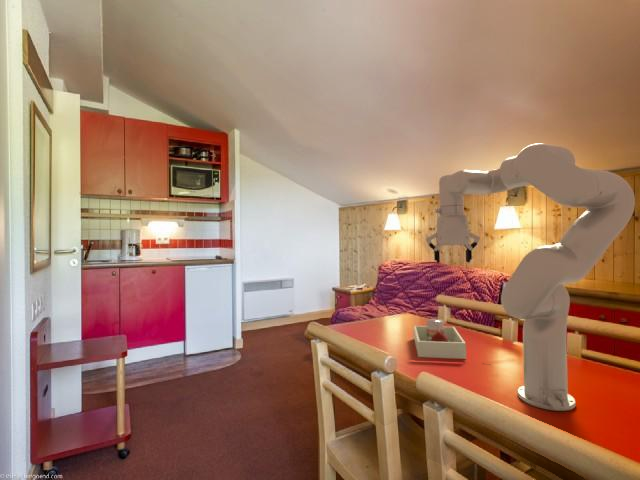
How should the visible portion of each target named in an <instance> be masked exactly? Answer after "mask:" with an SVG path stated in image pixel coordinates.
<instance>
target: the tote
mask: <svg viewBox="0 0 640 480" xmlns="http://www.w3.org/2000/svg"><path fill="white" fill-rule="evenodd" d="M444 335H445V337H446V338H447V340H448V342H434V341H427V325H413V340H414V344H415V349H416V353H417V357H418V358H432V359H433V358H435V359H436V358H437V359H438V358H439V359H455V360H457V359H461V360H467V345H466V344H467V343H466V342H465V340H464V339H463V337H462V336H461V335H460V332H458V330H457V329H456V327H455V326H444Z"/></svg>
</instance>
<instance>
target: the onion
mask: <svg viewBox="0 0 640 480" xmlns="http://www.w3.org/2000/svg"><path fill="white" fill-rule="evenodd" d="M431 341H434V342H448V340H447V338H446V337H445V335H443V334H442V333H441V331H440V330H439V331H438V332H437V333H436V334H435V335H434V336H433V337H432V339H431Z"/></svg>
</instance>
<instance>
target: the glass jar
mask: <svg viewBox="0 0 640 480" xmlns="http://www.w3.org/2000/svg"><path fill="white" fill-rule="evenodd" d="M444 322H445V321H444V320H443V319H440V318H427V319H426V326H427V341H431V339H432V337H433V336H434V335H435V334H436V333H437V332H438V331H439V330H440V331H441V333H442V334H443V335H444V327H445V325H444Z"/></svg>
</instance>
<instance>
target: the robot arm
mask: <svg viewBox="0 0 640 480" xmlns="http://www.w3.org/2000/svg"><path fill="white" fill-rule="evenodd" d="M438 185H439V186H438V187H439V188H438V189H439V191H438V193H439V208H436V209H435V211H434V212H435V214H439V216H438V217H437V220H436V232H435V233H433V234H431V235H430V236H428V237H426V238H425V241H426V243H427V244H428V246H429V248H431V250H433V252H434V254H433V255H434V256H433V257H434V261H436V263H437V264H439V263H440V262H441V261H440V260H441V257H440V255H441V254H440V251H439V250H440V248H441V247H442V246H464V247H465V248H466V250H465V262H466V263H471V261H472V258H473V257H472V254H473V253H472V251H473V250H474V248H475V247H476V246H477V245H478V244H479V241H480V240H481V237H480V236H478V235H476V234H474V233H472V232H470V231H469V230H470V229H469V228H470V227H469V222H468V217H467V214H465V215H464V213H465V211H464V195H479V196H484V195H491V194H492V195H493V194H498V193H503V192H507V191H510V190H512V189H516V188H522V187H526V186H533V187H534V188H535V189H536V190H538V191H539V192H540V193H542V194H544V195H545V196H546V197H547V198H549V199H550V200H552V201H554V202H555V203H557V204H559V205H561V206H564V207H568V208H586V209H585V211H584V212H583V213H582V214H581V215H580V216H579V217H578V218H576V220H574V222H572V224H571V225H569V227H568V229H567V230H566V232H565V233H564V235H563V236H561V239H560V240H558V242H557V243H555V244H552V245H549V244H548V245H543V246H539V247H536V248H533V249H532V250H531V251H529V252H528V253H526V254H525V256H524V257H523V258H522V260H521V261H520V262H519V263H518V266H517V267H516V269H515V270H514V272H513V273H512V274H511V276H510V277H509V279H508V281H506V284H505V285H504V286H503V289H502V291H501V296H500V300H501V303H500V304H501V306H502V309H503V310H504V312H505V313H506V314H507V315H509V316H510V317H512V318H514V319H518V320H523V325H522V326H523V327H522V351H523V354H522V357H523V360H522V361H523V385H521V386H520V387H519V388H518V389H517V397H518V398H520V400H522V401H523V402H524V403H527V404H528V405H530V406H533V407H536V408H540V409H543V410H547V411H555V412H557V411H558V412H567V411H571V410H573V409H574V408H575V407H576V405H577V404H576V399H575V398H574V397H573V396H572V395H571V394H569V392H568V391H569V390H568V389H569V388H568V353H567V352H568V350H567V348H568V347H567V341H568V340H567V338H568V337H567V326H568V325H567V322H568V316H569V312H570V305H571V303H570V301H571V297H570V294H569V292H568V290H567V288H566V287H565V286H564V285H570V284H575V283H578V282H580V281H582V280H583V279H585V278H586V276H587V275H588V274H589V273H590V272H591V270H592V269H593V267H595V265H596V264H597V263H598V261H599V260H600V259H601V258H602V256H603V255H604V254H605V253H606V251H607V250H608V248H609V247H610V246H611V244H612V243H613V242H614V240H616V239H617V237H618V236H619V235H620V234H621V232H623V230H624V229H625V228H626V226H627V224H628V223H629V222H630V220H631V218H632V217H633V213H634V211H635V205H636V198H635V193H634V191H633V188H632V187H631V185H630V183H628V181H627V180H626V179H625V178H624V177H622V176H621V175H619V174H617V173H615V172H611V171H607V170H603V169H602V170H601V169H591V168H584V167H583V168H582V167H580V166H578V165H576V157H575V156H574V153H573V152H572V151H571V150H570V149H568V148H567V147H564V146H561V145H556V144H555V145H554V144H547V143H533V144H530V145H527V146H526V147H524V148H523V149H521V150H520V151H519V153H518V154H517V155H516V156H511V157H508V158H506V159H504V160H503V161H502V162H501V164H500V166H499V168H496V169H492V170H486V171H481V170H470V169H469V170H468V169H463V170H458V171H456V172H454V173H452V174H447V175H443V176H441V177H439V181H438ZM435 238H436V240H435V241H436V244H435V245H434V244H433V242H432V240H433V239H435ZM470 238H472V239H473V241H472V243H471V244H469V243H470V242H471V241H470Z"/></svg>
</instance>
